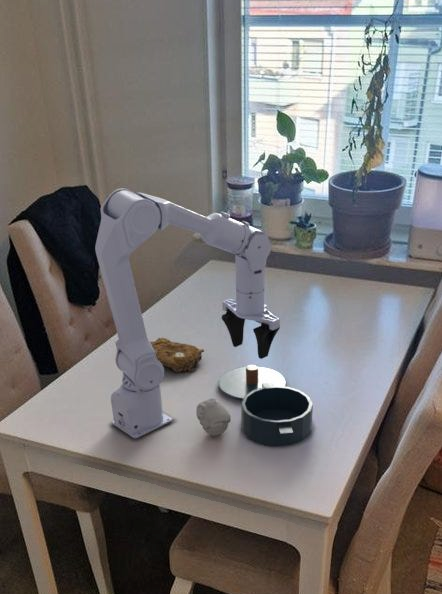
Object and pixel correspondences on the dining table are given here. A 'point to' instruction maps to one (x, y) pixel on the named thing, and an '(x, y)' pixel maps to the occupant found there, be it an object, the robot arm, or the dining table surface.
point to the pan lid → (248, 380)
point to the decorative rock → (176, 354)
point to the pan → (276, 415)
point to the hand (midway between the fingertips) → (250, 351)
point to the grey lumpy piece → (213, 417)
